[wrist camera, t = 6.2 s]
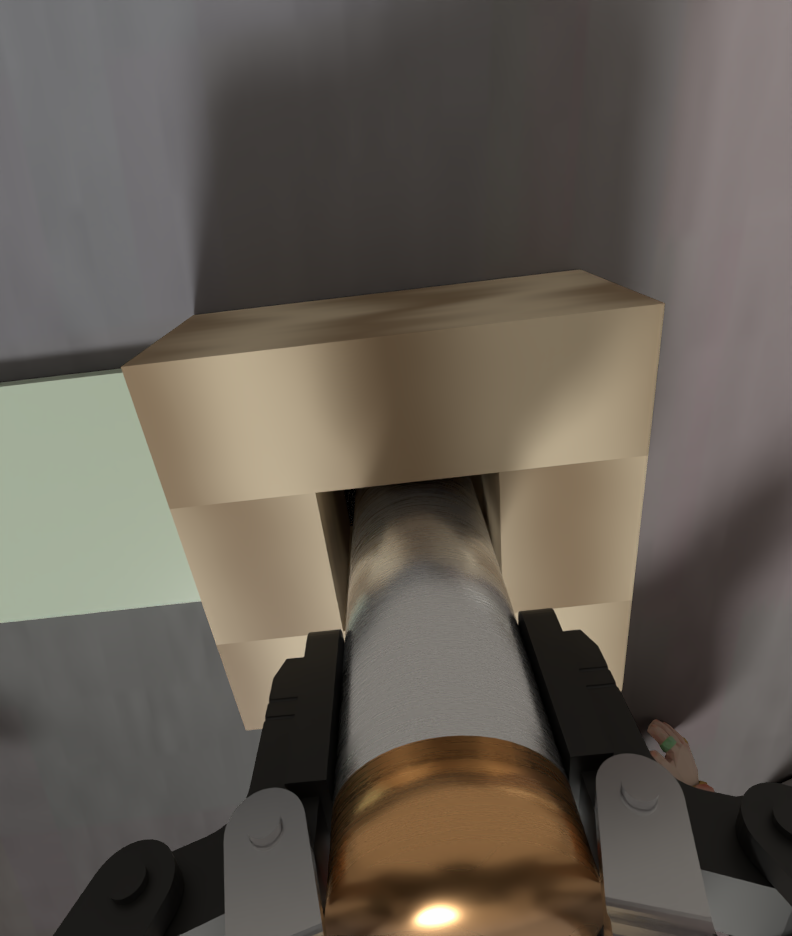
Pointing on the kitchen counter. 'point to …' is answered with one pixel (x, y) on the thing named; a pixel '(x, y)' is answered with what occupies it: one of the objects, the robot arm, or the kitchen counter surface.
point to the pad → (82, 503)
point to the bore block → (403, 448)
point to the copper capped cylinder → (446, 741)
